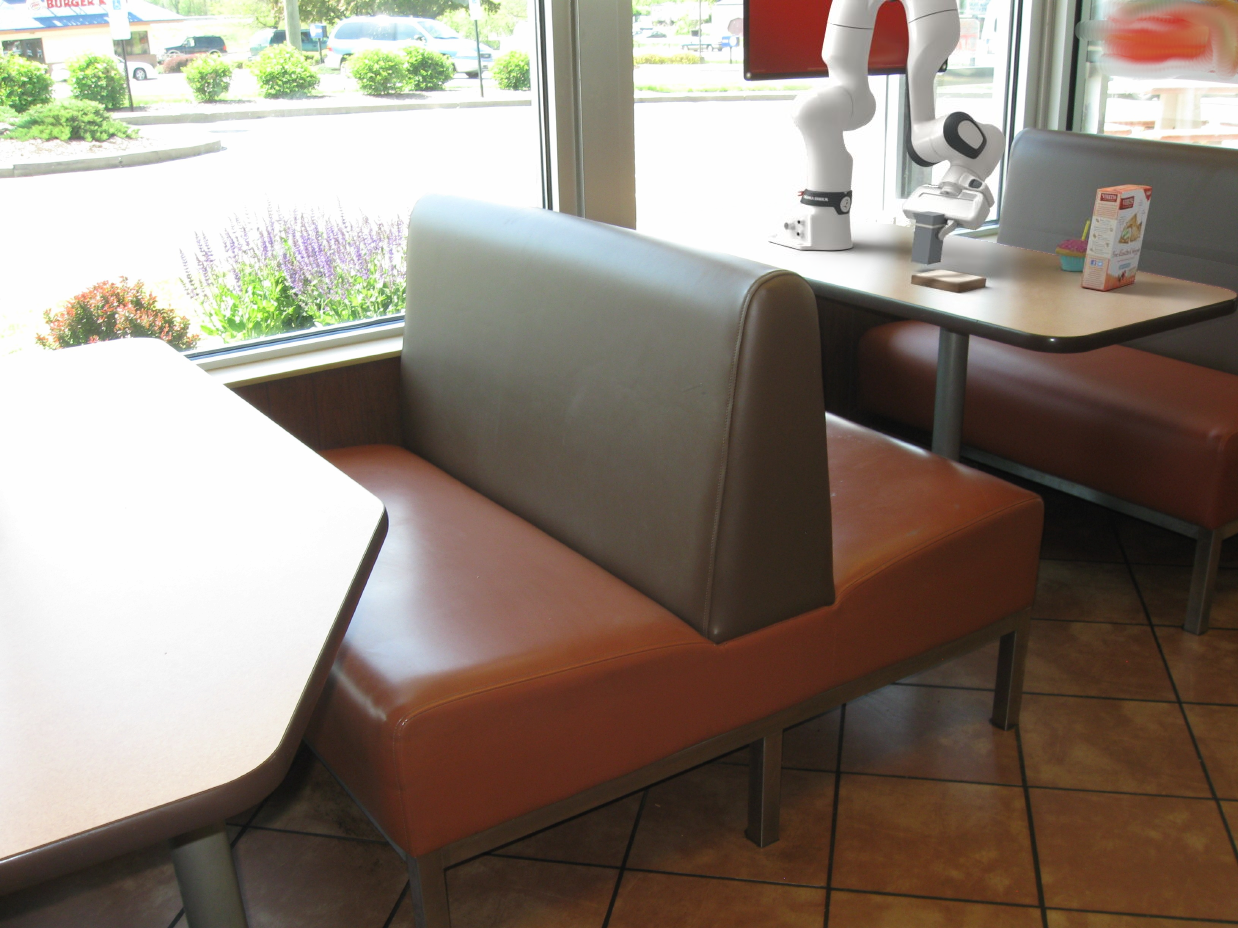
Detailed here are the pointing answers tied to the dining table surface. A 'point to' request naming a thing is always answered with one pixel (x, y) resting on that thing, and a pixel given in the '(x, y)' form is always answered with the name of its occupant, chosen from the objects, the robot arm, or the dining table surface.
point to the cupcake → (1073, 252)
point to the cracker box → (1116, 236)
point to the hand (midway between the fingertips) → (927, 236)
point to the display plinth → (948, 280)
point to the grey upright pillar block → (927, 238)
